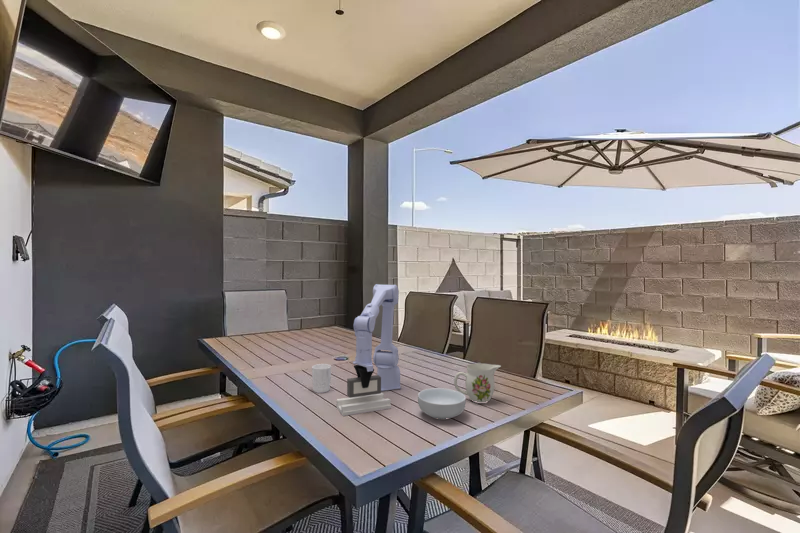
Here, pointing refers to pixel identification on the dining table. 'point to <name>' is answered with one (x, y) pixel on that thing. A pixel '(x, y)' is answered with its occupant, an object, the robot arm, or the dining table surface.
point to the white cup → (321, 377)
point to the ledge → (362, 404)
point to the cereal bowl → (441, 402)
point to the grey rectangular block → (356, 388)
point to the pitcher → (478, 381)
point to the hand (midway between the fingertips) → (363, 386)
